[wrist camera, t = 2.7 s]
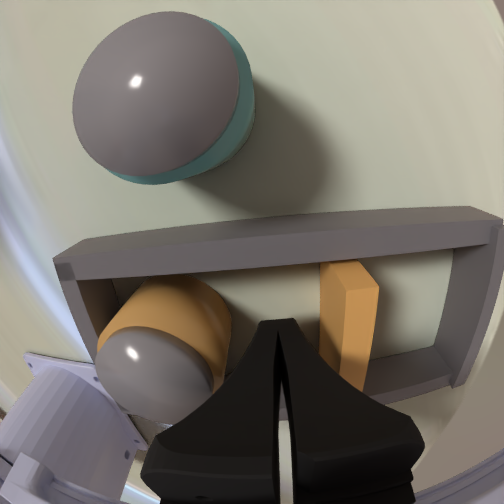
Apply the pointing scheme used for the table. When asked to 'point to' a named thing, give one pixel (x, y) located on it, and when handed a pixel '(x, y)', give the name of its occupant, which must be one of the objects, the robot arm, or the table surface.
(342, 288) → the plate
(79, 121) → the teal jar
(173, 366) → the amber jar
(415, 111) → the table surface
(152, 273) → the grey rectangular tray
